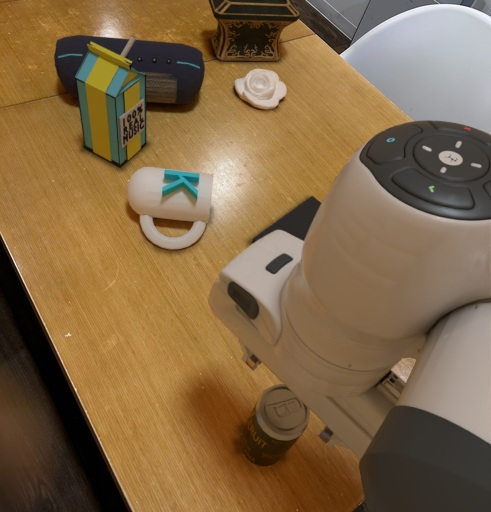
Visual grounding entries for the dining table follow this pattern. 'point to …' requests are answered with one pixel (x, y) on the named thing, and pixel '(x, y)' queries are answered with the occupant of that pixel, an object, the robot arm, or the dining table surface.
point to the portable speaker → (139, 65)
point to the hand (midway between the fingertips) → (289, 397)
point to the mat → (295, 220)
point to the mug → (171, 202)
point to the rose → (261, 88)
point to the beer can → (273, 426)
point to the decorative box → (250, 28)
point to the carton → (111, 104)
